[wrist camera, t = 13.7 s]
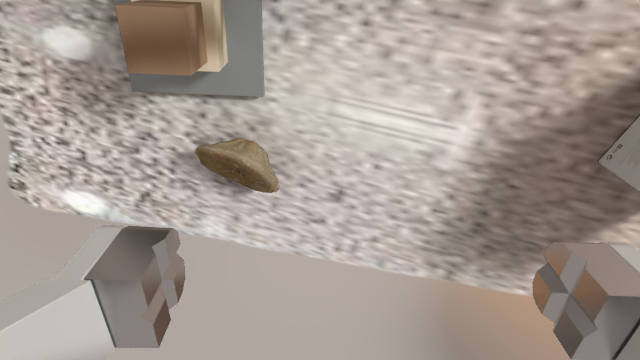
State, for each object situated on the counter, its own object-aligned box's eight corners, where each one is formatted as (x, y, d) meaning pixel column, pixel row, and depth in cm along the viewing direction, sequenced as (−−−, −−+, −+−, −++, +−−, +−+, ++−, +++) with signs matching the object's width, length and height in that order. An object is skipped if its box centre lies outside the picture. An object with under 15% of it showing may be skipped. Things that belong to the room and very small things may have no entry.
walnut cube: (142, -1, 32) (114, 4, 28) (201, 2, 32) (182, 8, 28) (153, 59, 35) (129, 72, 30) (207, 61, 35) (191, 75, 30)
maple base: (147, -18, 35) (127, -16, 32) (221, -14, 35) (211, -12, 32) (159, 59, 38) (143, 68, 35) (227, 62, 39) (218, 71, 35)
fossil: (184, 144, 38) (275, 178, 38) (203, 109, 40) (291, 142, 39) (203, 174, 47) (278, 202, 46) (218, 145, 48) (291, 171, 47)
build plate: (105, -63, 34) (100, -64, 33) (259, -56, 34) (257, -56, 33) (136, 88, 41) (132, 91, 40) (264, 94, 41) (263, 96, 40)
